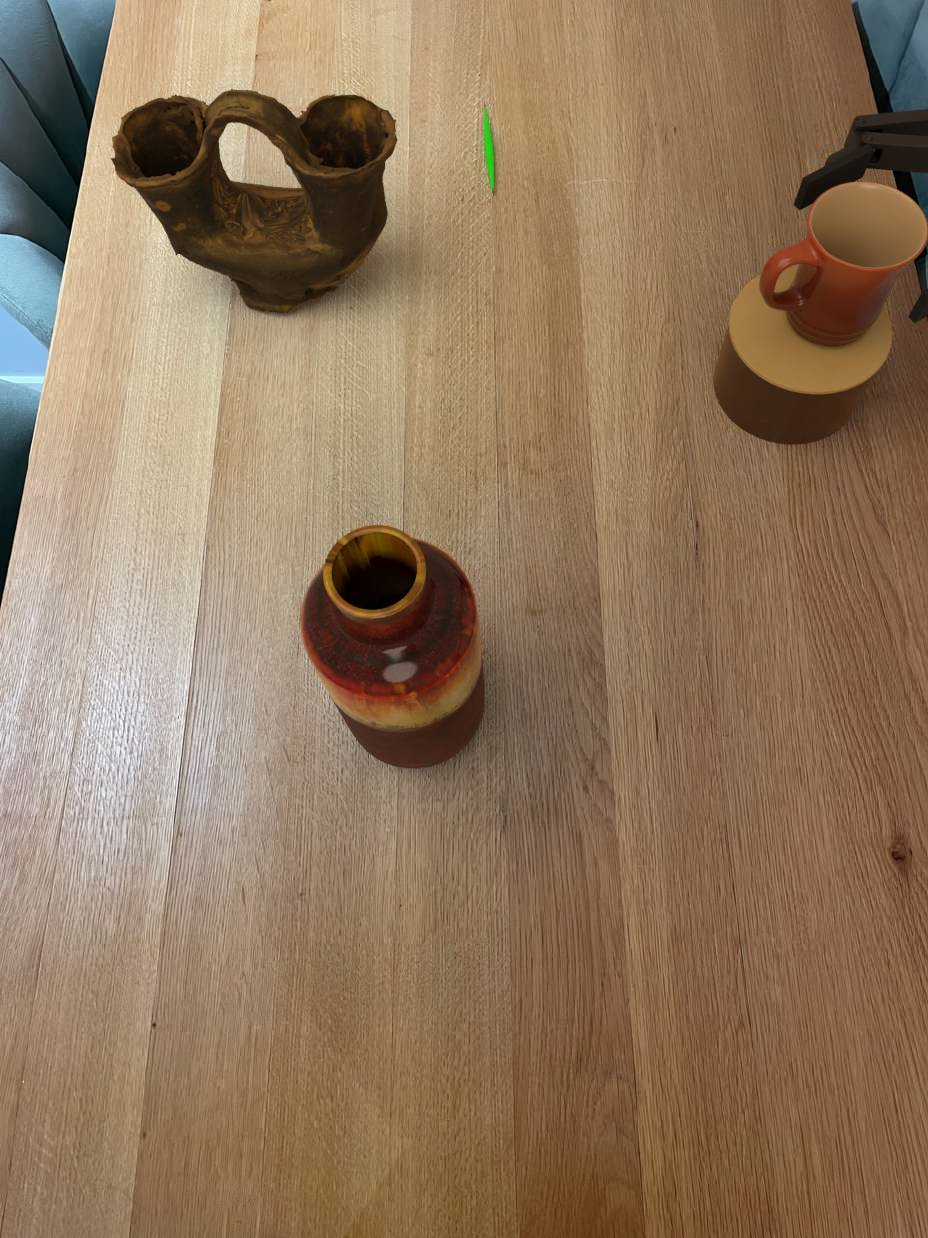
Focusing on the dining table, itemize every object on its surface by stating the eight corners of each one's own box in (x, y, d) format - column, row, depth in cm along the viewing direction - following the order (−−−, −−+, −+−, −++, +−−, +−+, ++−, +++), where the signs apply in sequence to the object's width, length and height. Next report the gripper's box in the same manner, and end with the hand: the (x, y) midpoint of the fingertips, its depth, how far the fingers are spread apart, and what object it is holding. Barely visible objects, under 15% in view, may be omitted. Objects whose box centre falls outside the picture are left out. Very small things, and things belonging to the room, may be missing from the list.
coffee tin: (855, 329, 89) (886, 267, 81) (864, 450, 83) (898, 395, 76) (711, 322, 90) (728, 260, 82) (711, 441, 85) (730, 387, 77)
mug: (850, 266, 81) (895, 168, 72) (898, 343, 78) (951, 251, 69) (721, 303, 81) (748, 208, 71) (763, 383, 77) (798, 294, 68)
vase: (332, 676, 78) (250, 523, 54) (456, 628, 79) (431, 457, 55) (377, 800, 73) (310, 694, 49) (508, 747, 75) (505, 618, 51)
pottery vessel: (421, 236, 96) (399, 52, 77) (412, 322, 92) (387, 148, 73) (180, 235, 97) (104, 54, 79) (161, 318, 93) (76, 148, 75)
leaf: (489, 200, 97) (488, 193, 96) (480, 104, 102) (480, 97, 102) (497, 199, 97) (497, 193, 96) (488, 103, 102) (488, 96, 102)
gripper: (1156, 270, 75) (950, 391, 71) (939, 88, 84) (746, 188, 80) (1221, 195, 68) (996, 324, 65) (977, 5, 77) (767, 110, 73)
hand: (857, 249), depth 72 cm, fingers open, 13 cm apart
